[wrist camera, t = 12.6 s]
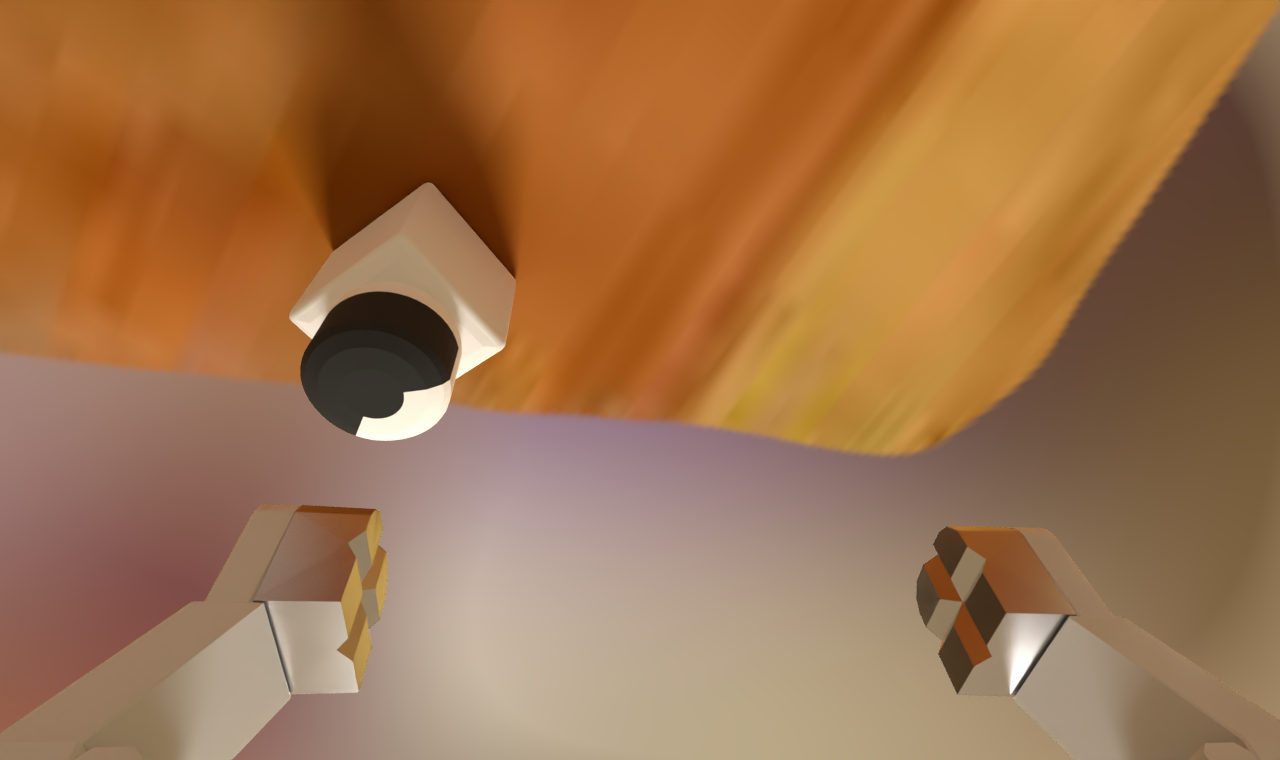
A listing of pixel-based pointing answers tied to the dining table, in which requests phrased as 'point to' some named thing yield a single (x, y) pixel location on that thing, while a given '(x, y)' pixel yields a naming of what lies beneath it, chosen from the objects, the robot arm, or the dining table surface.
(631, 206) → the dining table surface
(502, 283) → the medicine bottle
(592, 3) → the dining table surface
